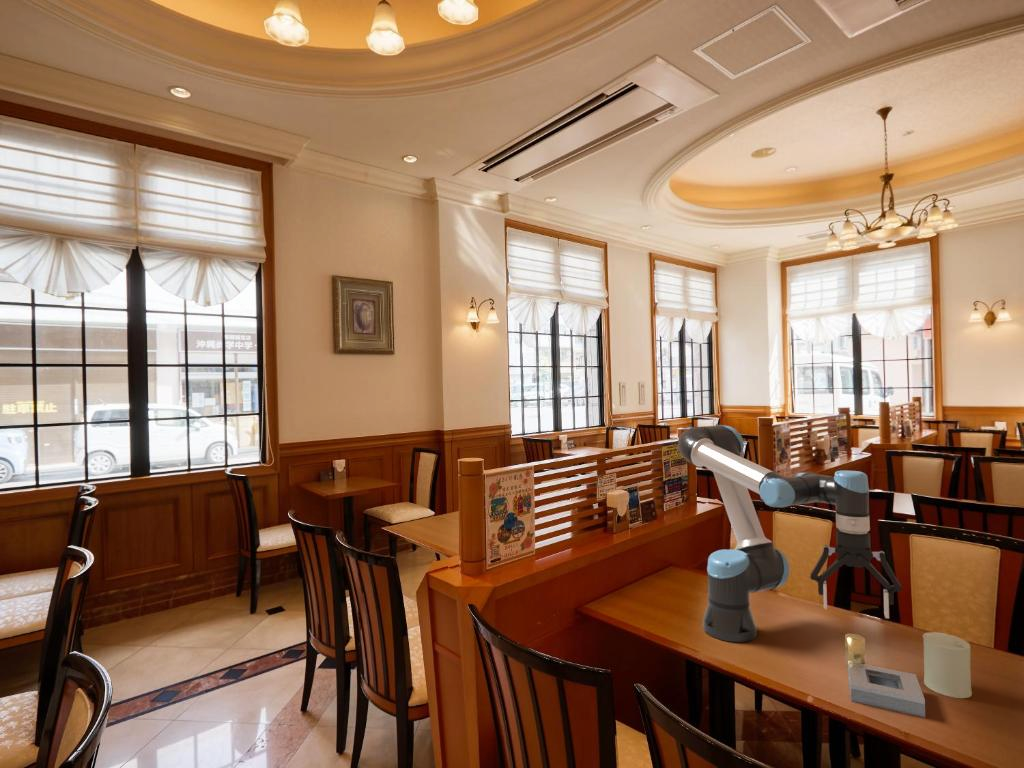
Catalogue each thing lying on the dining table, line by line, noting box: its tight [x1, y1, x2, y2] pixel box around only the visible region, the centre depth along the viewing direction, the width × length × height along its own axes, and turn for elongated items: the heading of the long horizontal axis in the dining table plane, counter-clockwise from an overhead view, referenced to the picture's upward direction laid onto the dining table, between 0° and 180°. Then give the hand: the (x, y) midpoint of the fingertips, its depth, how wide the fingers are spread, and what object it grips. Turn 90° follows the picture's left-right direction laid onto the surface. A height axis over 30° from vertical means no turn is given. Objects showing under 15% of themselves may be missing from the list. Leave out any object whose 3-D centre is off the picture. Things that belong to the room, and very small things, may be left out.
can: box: [922, 631, 973, 699], centre depth 132 cm, size 9×9×12 cm
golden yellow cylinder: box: [844, 633, 866, 669], centre depth 142 cm, size 4×4×8 cm
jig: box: [847, 661, 926, 719], centre depth 129 cm, size 14×12×4 cm
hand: (855, 611), depth 142 cm, fingers open, 13 cm apart
